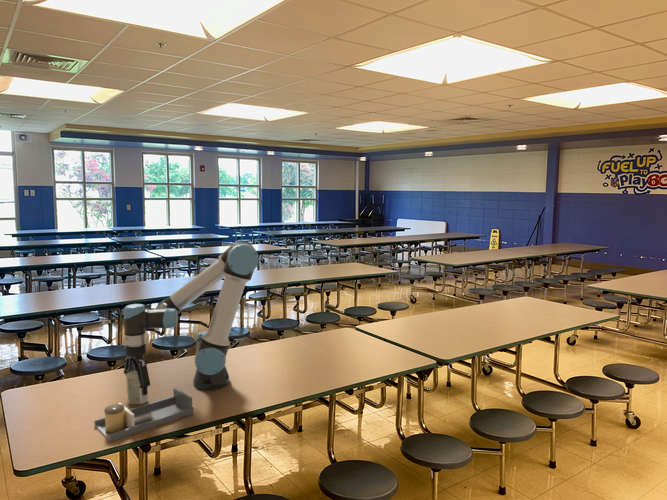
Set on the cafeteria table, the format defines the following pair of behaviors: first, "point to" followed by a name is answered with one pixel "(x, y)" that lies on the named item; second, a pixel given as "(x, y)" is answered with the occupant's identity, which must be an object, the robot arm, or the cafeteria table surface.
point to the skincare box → (133, 388)
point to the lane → (153, 415)
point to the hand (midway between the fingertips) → (137, 397)
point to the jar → (114, 418)
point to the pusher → (130, 419)
